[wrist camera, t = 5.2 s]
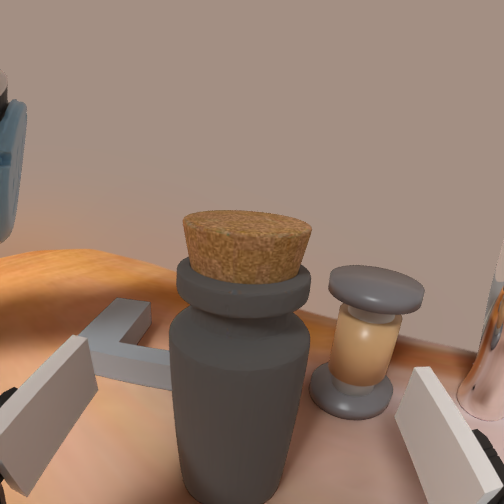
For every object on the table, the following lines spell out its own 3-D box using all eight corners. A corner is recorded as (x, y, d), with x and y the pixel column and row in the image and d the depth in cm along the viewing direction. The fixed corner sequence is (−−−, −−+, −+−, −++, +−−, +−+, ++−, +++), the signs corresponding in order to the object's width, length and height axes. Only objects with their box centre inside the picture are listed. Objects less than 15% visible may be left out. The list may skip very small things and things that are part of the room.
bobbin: (313, 420, 21) (341, 297, 18) (305, 367, 28) (323, 262, 25) (399, 417, 21) (441, 301, 18) (377, 368, 27) (402, 268, 25)
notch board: (73, 369, 23) (68, 344, 23) (118, 317, 33) (117, 297, 33) (272, 401, 23) (276, 377, 22) (272, 336, 33) (274, 314, 32)
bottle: (180, 442, 18) (171, 205, 14) (267, 438, 19) (298, 211, 15) (184, 515, 12) (159, 235, 8) (290, 506, 14) (357, 240, 10)
